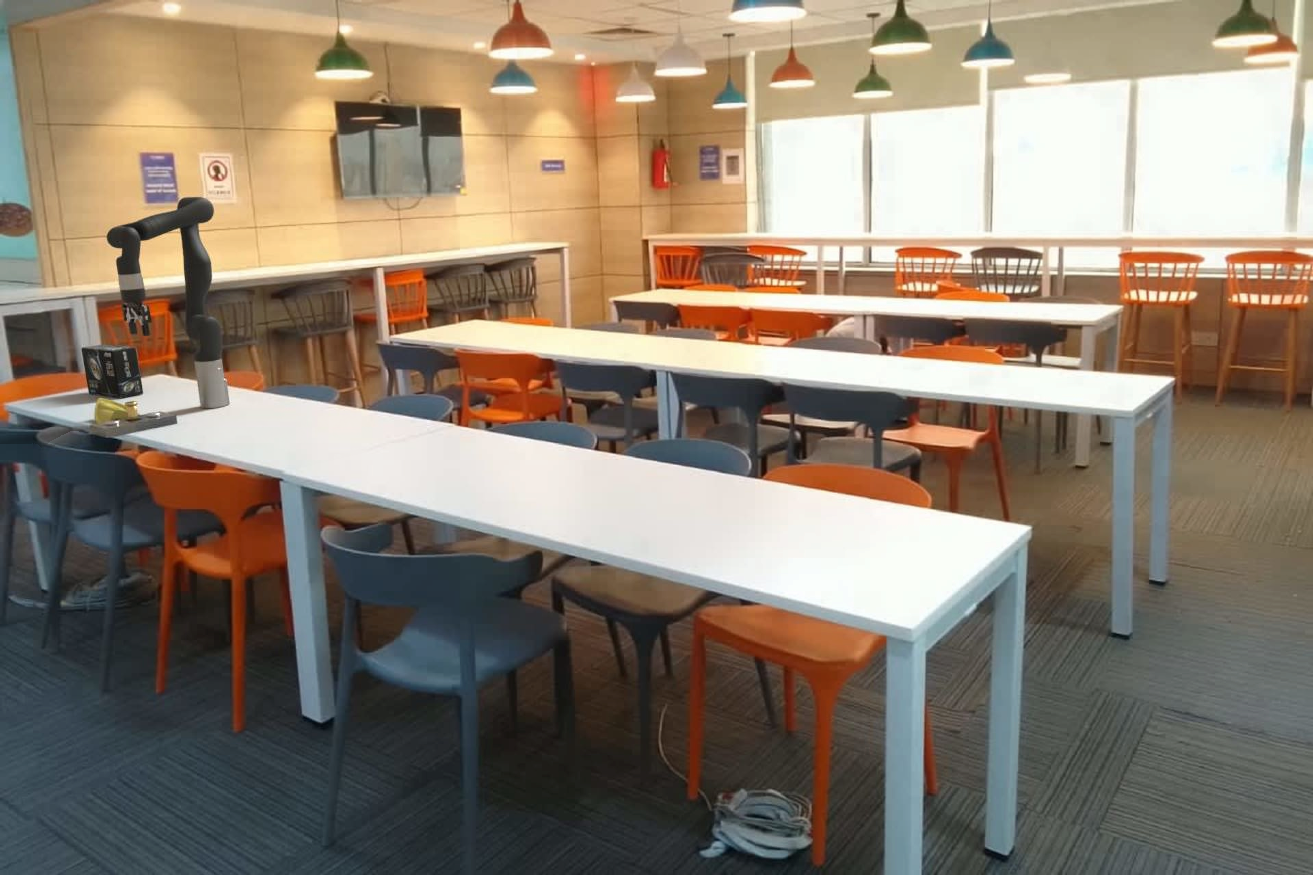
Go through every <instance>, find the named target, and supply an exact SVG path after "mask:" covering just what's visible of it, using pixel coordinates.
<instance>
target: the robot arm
mask: <svg viewBox="0 0 1313 875" xmlns="http://www.w3.org/2000/svg"><path fill="white" fill-rule="evenodd" d="M214 213H215V209H214V205H213V203H212V201H210V200H209V199H208V198H206V197H202V196H185V197H182V198H180V200H179V201H178V203H177V206H176V209H175V210H171V211H166V212H160V213H156V214H153V215H150V216H147V217H143V218H141V219H139V220H136V221H134V222H128V223H124V224H120V225H118V226H115V227H114V226H113V227H112V228H110V229H109V231H108V232H107V234H106V240H107V243H108V244H109V245H110V246H111V247H112V248H115V249H121V255H120V256H118V257H116V260H115V264H116V271H117V275H118V276H117V277H118V278H117V279H118V281H117V282H118V286H119V287H118V288H119V294H120V299H121V302H122V304H121V308H122V316H123V321H124V322H126V323H127V324H128V328H129V334H130V335H137V334H138V328H137V323H136V320H137V321H139V323H140V327H141V328H140V329H141V334H142V336H143V337H147V336H150V335H151V332H150V327H149V325H150V324H152V322H153V320H152V315H151V311H150V307H149V306H150V305H149V304H145V305H144V302H145V301H146V300H147V295H146V294H147V293H146V288H145V283H144V278H143V275H142V271H141V270H142V269H141V264H140V256H141V244H142V243H141V242H145V241H149V240H152V239H155V238H157V237H160V236H162V235H165V234H168V233H170V232H172V231H175V230H178V229H179V232H180V237H181V246H182V247H181V248H182V249H181V250H182V257H183V258H182V259H183V261H182V262H183V275H184V276H183V277H184V286H185V287H184V288H185V320H184V321H185V322H184V324H185V326H184V328H185V332H186V335H187V336H188V338H189V339H190V340H192V341H194V342H199V350H198V351H195V352H194V354H193V360H194V368H195V374H196V376H195V377H196V382H197V391H198V397H199V398H198V399H199V405H200V408H201V409H214V408H215V409H217V408H222V407H225V406H228V405H230V404H231V402H230V396H229V388H228V380H227V378H225V376H224V368H223V360H222V353H223V349H224V347H223V336H222V335H223V334H222V327H221V324H220V322H219V320H218V319H217V318H215V317H213V316H209V315H206V309H205V307H206V306H205V305H206V304H205V303H206V297H207V296H208V293H209V291H210V287H211V286H212V281H213V270H212V261H211V258H210V255H209V253H208V251H207V250H206V248H205V246H204V243H203V242H202V239H201V236H200V229H199V228H200V227H199V226H200V225H199V224H205V223H208V222H209V221H210V220H212V218H213V217H214V215H215V214H214Z"/></svg>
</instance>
